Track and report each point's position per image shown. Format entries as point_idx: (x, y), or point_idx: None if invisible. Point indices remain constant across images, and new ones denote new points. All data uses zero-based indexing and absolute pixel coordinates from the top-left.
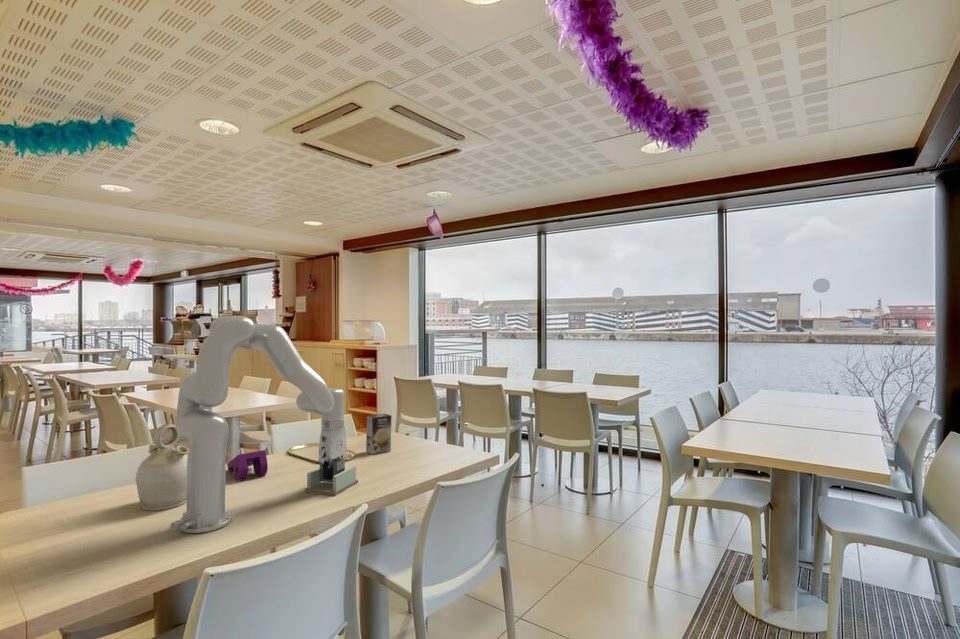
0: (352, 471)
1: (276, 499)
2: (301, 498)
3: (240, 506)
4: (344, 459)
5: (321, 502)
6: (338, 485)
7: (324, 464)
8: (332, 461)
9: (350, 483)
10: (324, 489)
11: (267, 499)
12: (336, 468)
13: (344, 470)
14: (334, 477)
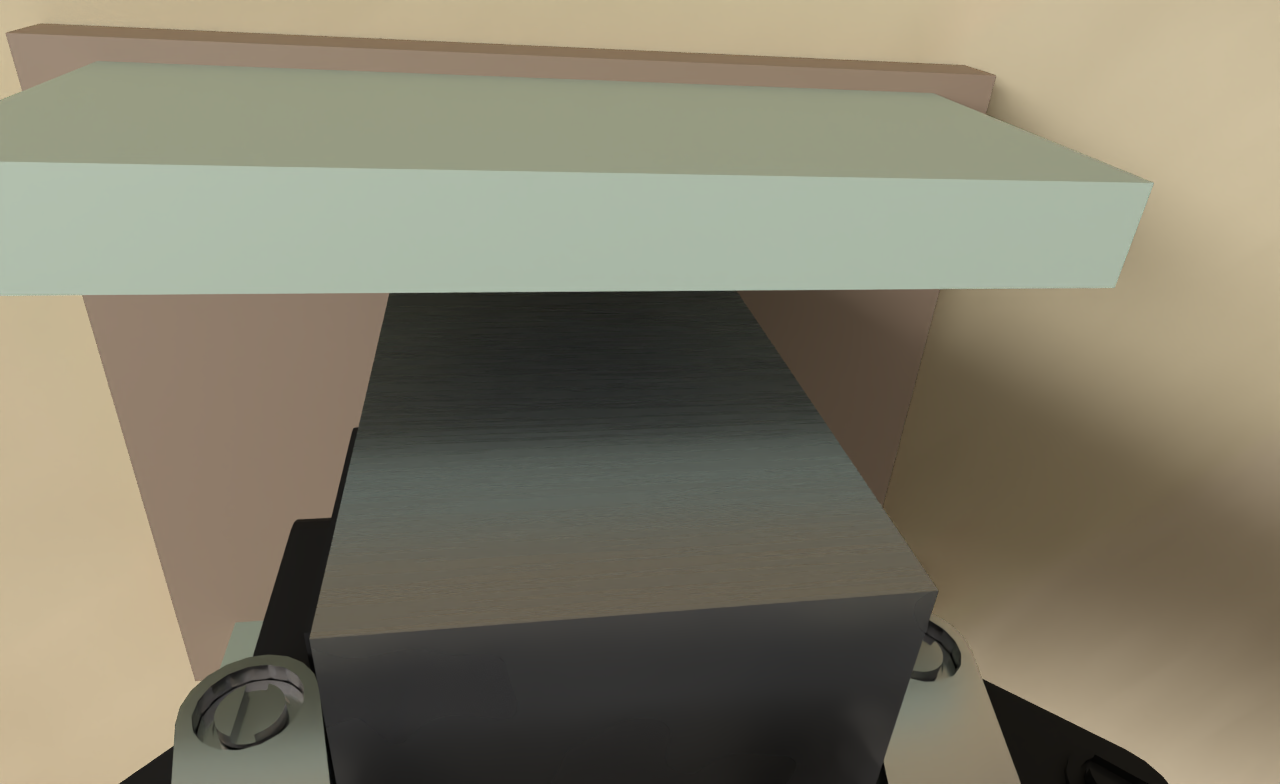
0: (190, 135)
1: (1104, 673)
2: (1078, 477)
3: (1261, 780)
4: (341, 620)
5: (1263, 115)
6: (893, 112)
7: (1149, 773)
8: (829, 780)
9: (366, 71)
10: (840, 367)
11: (1101, 733)
12: (827, 463)
13: (380, 358)
14: (1108, 231)
